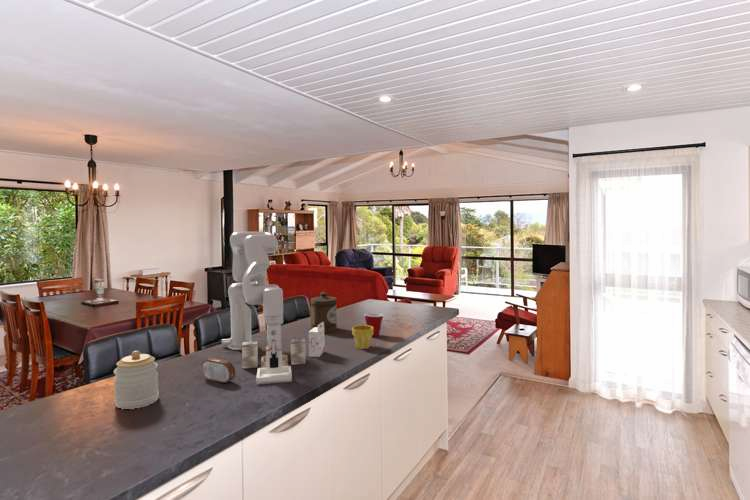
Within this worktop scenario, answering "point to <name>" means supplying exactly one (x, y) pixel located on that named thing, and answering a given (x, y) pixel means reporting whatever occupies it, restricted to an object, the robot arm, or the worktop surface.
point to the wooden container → (323, 312)
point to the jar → (136, 381)
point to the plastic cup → (374, 322)
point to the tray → (274, 376)
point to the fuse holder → (252, 356)
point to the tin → (218, 370)
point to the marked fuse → (268, 369)
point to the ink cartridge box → (316, 341)
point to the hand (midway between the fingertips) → (274, 365)
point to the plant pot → (362, 336)
